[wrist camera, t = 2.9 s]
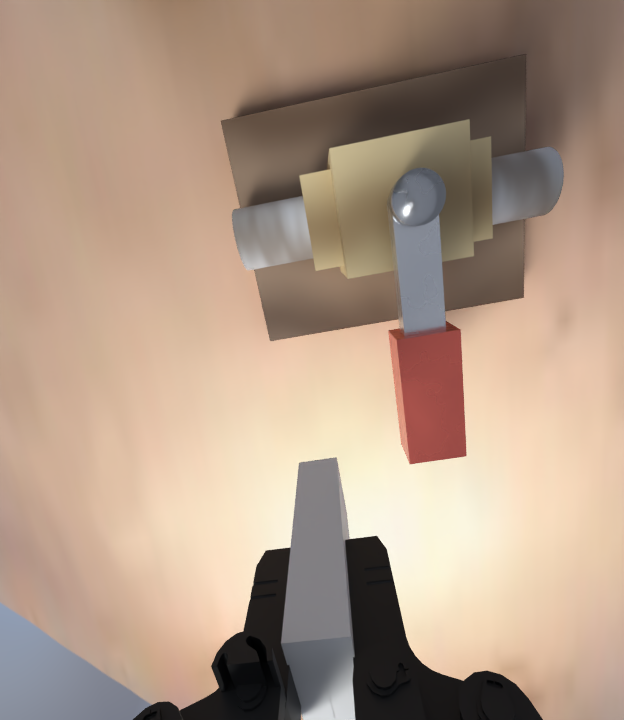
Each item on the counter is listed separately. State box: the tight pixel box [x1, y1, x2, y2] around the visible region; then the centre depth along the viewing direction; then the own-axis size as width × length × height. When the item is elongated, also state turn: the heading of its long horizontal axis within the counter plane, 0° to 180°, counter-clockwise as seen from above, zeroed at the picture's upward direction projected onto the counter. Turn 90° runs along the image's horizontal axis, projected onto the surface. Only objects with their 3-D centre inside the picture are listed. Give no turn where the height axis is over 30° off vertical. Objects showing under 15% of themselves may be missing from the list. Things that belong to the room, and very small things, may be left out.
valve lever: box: [387, 168, 466, 464], centre depth 17 cm, size 14×3×2 cm, turn 10°
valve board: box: [221, 54, 564, 341], centre depth 20 cm, size 14×18×8 cm
